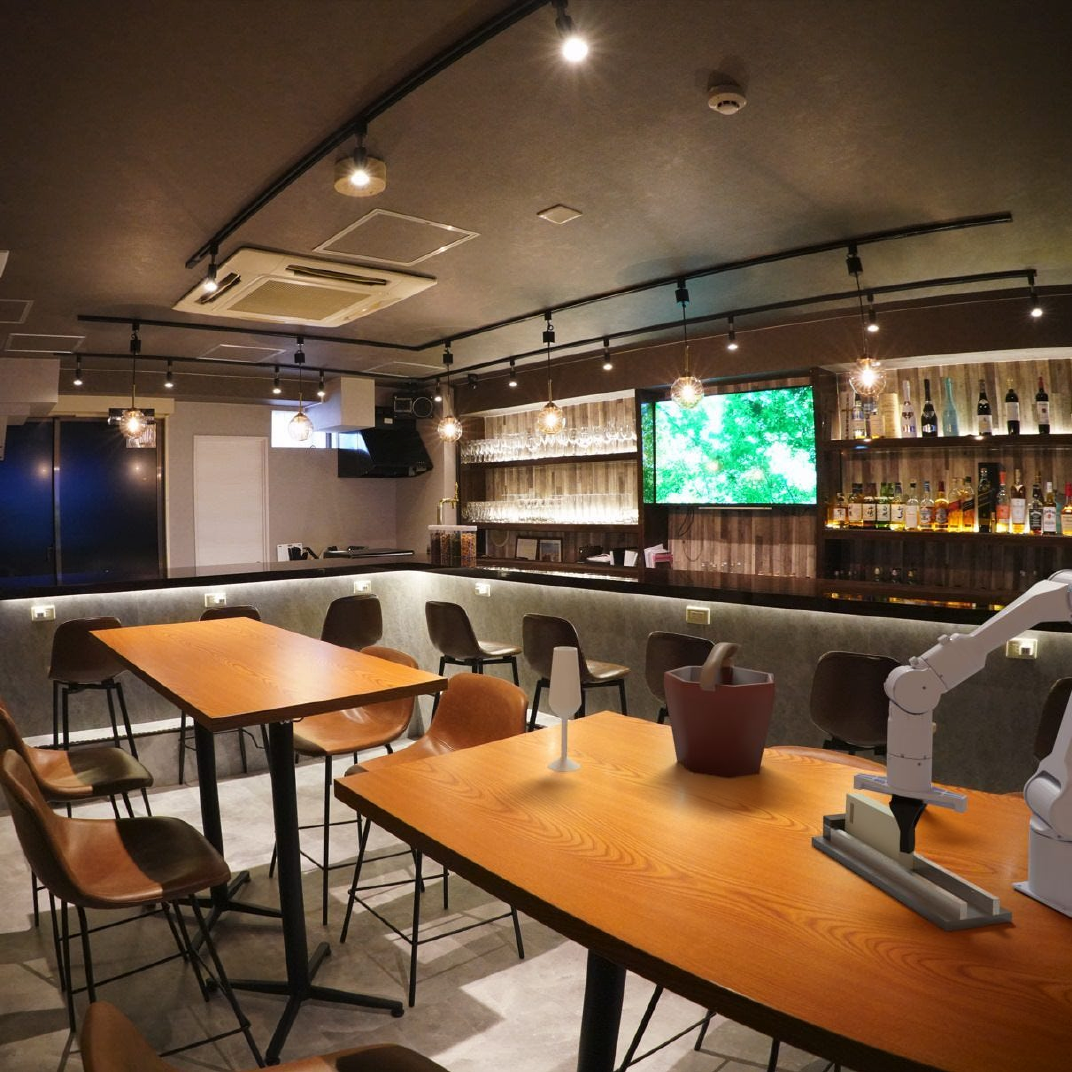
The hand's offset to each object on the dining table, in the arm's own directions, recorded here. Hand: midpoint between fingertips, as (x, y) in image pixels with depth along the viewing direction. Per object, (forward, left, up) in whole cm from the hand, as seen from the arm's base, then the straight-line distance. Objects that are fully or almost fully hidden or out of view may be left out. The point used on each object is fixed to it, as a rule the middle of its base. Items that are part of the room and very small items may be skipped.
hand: (906, 850), depth 115 cm
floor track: (+1, 0, -5) cm, 5 cm away
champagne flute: (+63, +30, -5) cm, 70 cm away
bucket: (+56, -2, -5) cm, 57 cm away
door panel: (+7, -1, -3) cm, 8 cm away
